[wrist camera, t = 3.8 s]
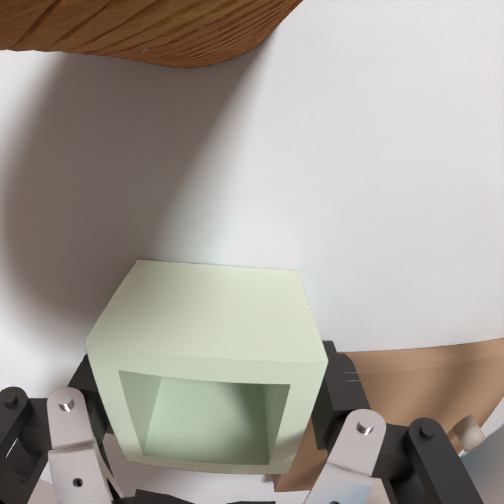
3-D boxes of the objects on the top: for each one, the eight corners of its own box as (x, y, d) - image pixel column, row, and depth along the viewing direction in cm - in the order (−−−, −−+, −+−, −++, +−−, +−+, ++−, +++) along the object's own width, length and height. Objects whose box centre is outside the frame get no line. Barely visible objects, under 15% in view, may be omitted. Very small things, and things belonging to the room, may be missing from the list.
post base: (273, 474, 18) (279, 554, 12) (307, 352, 13) (339, 481, 7) (446, 447, 19) (472, 504, 13) (520, 335, 14) (574, 397, 8)
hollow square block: (137, 259, 11) (84, 341, 7) (297, 270, 12) (328, 361, 7) (166, 452, 17) (155, 518, 12) (260, 459, 17) (264, 526, 12)
